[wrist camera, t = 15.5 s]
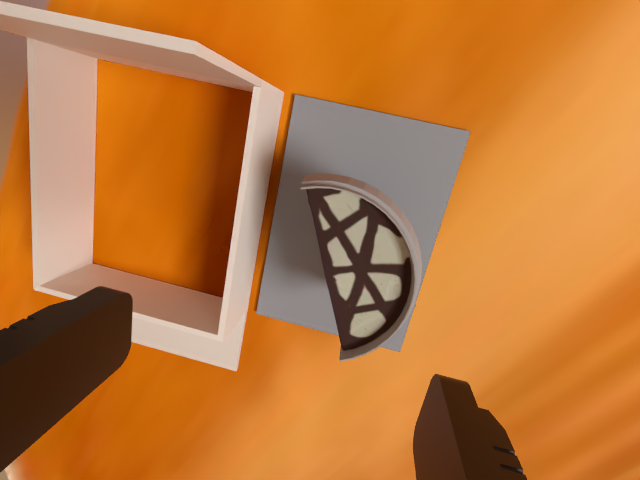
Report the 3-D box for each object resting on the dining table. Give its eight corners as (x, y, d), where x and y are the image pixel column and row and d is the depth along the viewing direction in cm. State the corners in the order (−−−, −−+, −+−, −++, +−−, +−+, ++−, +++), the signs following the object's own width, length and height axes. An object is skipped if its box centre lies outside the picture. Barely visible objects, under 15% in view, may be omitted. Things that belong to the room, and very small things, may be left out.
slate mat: (469, 131, 28) (470, 131, 27) (399, 349, 33) (399, 352, 33) (296, 94, 29) (294, 94, 28) (257, 311, 34) (256, 313, 34)
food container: (419, 292, 31) (440, 358, 22) (350, 302, 32) (341, 368, 23) (396, 151, 28) (408, 155, 19) (322, 167, 29) (297, 178, 20)
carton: (284, 92, 29) (196, 40, 14) (237, 368, 36) (149, 514, 22) (92, 51, 30) (-163, -33, 16) (86, 326, 38) (-89, 437, 23)
